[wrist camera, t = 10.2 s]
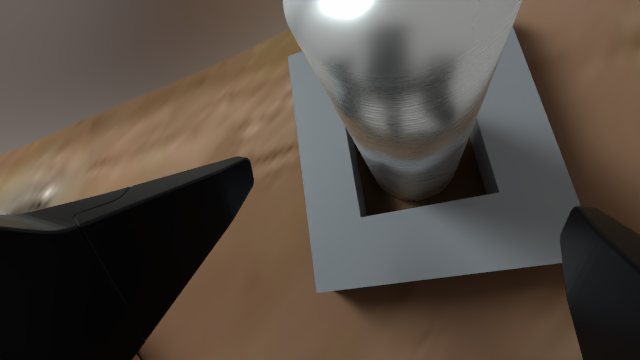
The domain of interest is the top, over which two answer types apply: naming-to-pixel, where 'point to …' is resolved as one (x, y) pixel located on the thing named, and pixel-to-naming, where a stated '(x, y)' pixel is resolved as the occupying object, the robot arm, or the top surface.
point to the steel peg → (405, 78)
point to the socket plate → (443, 218)
